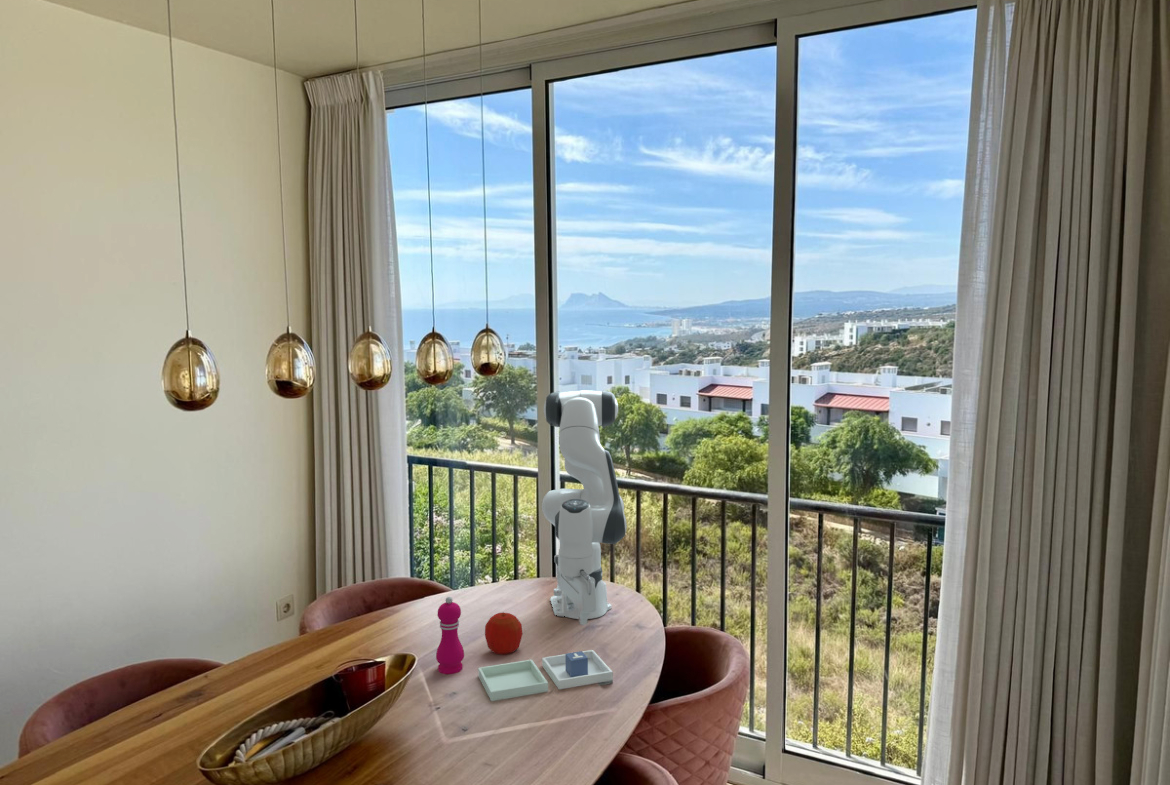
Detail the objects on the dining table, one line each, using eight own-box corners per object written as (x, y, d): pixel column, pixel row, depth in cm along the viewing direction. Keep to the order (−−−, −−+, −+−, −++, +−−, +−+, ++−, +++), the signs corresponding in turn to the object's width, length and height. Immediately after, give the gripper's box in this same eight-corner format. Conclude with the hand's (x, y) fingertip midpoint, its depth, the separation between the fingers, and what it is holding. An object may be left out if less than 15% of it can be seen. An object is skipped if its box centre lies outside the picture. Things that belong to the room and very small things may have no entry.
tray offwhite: (542, 668, 204) (542, 657, 204) (592, 660, 209) (592, 649, 209) (559, 692, 191) (559, 680, 191) (612, 683, 196) (612, 671, 195)
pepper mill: (458, 679, 199) (457, 602, 197) (432, 676, 200) (430, 600, 198) (468, 666, 206) (467, 593, 204) (442, 664, 207) (441, 591, 205)
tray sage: (478, 679, 198) (478, 667, 198) (532, 670, 203) (531, 659, 203) (491, 704, 185) (491, 692, 185) (548, 694, 190) (548, 682, 190)
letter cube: (565, 670, 201) (565, 653, 201) (581, 667, 203) (581, 650, 202) (571, 677, 197) (571, 660, 197) (587, 675, 199) (587, 657, 198)
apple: (528, 648, 217) (528, 608, 216) (509, 662, 208) (508, 620, 207) (498, 642, 222) (497, 602, 221) (478, 655, 213) (477, 614, 212)
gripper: (602, 575, 189) (603, 630, 190) (574, 551, 208) (575, 601, 210) (578, 579, 187) (578, 634, 188) (552, 554, 206) (553, 604, 207)
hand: (576, 616), depth 199 cm, fingers open, 8 cm apart
